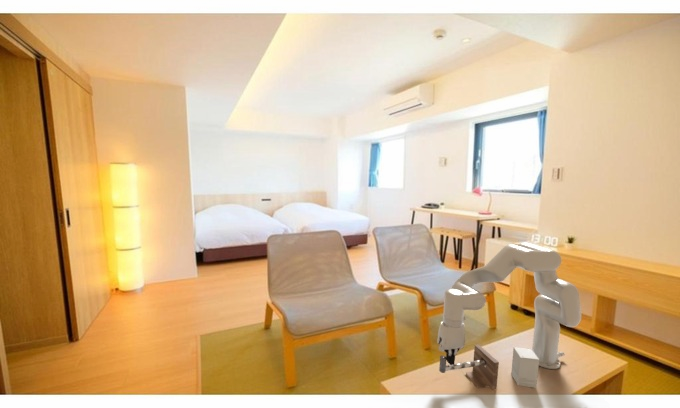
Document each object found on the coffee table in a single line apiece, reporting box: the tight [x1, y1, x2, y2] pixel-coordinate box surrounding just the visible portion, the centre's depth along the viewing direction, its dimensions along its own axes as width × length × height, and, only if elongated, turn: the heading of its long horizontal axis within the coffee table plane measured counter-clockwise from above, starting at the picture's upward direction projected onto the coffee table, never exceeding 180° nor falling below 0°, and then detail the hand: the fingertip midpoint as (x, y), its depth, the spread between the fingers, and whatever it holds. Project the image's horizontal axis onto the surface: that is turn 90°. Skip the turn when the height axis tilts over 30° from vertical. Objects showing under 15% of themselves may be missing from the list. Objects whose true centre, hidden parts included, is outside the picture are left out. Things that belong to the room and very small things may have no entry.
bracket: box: [465, 344, 500, 391], centre depth 123 cm, size 7×12×12 cm, turn 12°
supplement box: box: [510, 346, 540, 388], centre depth 123 cm, size 7×7×13 cm
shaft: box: [438, 355, 485, 374], centre depth 121 cm, size 20×2×6 cm, turn 102°
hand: (450, 362), depth 119 cm, fingers closed
